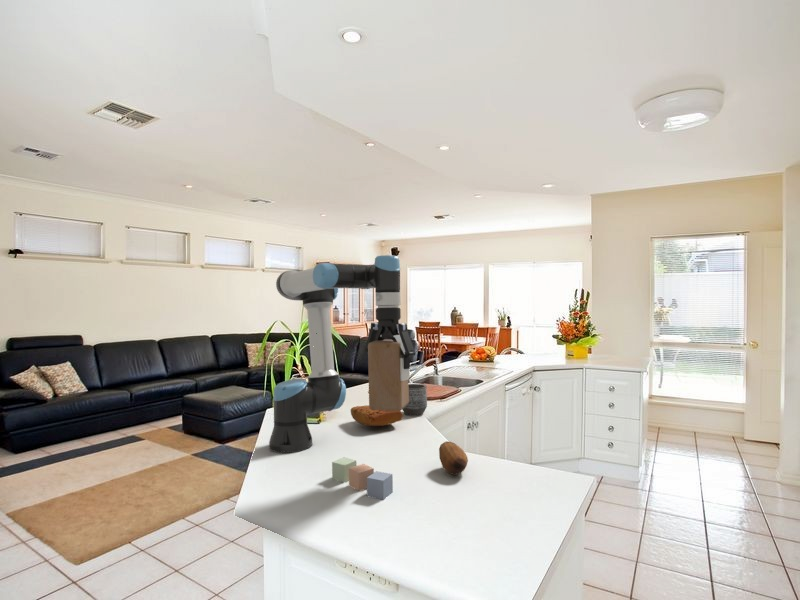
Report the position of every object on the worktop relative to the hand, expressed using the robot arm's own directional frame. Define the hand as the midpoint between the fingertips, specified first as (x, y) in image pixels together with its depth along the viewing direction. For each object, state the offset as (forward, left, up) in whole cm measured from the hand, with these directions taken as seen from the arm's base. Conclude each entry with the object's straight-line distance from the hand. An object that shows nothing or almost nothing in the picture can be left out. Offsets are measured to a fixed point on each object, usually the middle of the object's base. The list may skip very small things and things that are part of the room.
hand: (389, 377), depth 134 cm
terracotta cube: (+1, -12, -29) cm, 31 cm away
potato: (+13, +14, -29) cm, 35 cm away
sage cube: (-7, -12, -29) cm, 32 cm away
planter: (-46, +56, -29) cm, 78 cm away
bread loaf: (-44, +31, -29) cm, 61 cm away
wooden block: (0, 0, -9) cm, 9 cm away
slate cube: (+9, -12, -29) cm, 32 cm away
